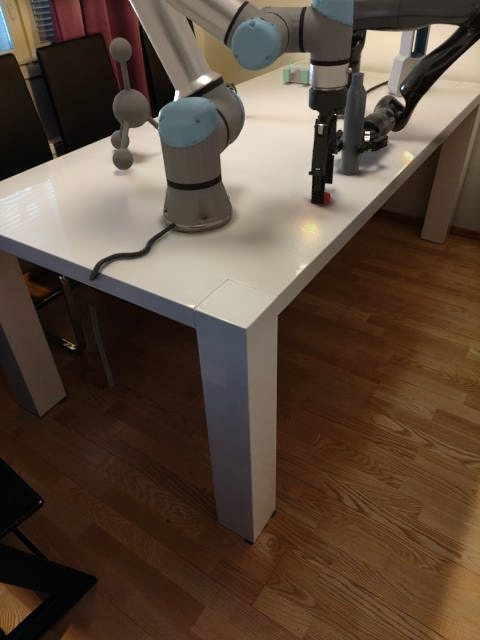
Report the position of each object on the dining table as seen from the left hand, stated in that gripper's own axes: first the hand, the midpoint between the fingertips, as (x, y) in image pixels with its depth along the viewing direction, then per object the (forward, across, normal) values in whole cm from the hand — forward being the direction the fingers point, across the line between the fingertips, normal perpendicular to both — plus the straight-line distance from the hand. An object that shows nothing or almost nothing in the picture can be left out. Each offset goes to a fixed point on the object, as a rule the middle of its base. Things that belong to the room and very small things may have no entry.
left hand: (322, 192), depth 109 cm
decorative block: (+2, +120, +26) cm, 123 cm away
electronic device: (+2, +100, -14) cm, 101 cm away
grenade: (+2, +63, +44) cm, 77 cm away
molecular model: (+2, +21, +54) cm, 58 cm away
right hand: (-4, +17, -3) cm, 18 cm away
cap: (+1, 0, 0) cm, 1 cm away
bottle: (+2, +19, -4) cm, 20 cm away
